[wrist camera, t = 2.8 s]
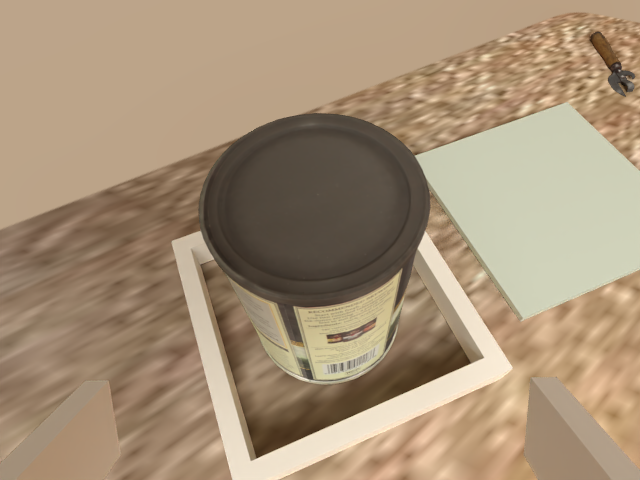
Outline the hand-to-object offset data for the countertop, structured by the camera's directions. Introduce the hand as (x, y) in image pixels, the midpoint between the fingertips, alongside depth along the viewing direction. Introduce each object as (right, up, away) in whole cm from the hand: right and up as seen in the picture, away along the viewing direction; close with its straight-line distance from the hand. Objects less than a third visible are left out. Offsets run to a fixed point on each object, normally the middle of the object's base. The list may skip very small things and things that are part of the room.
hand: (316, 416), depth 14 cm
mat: (+18, +9, +22) cm, 30 cm away
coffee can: (+1, 0, +18) cm, 18 cm away
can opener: (+29, +23, +30) cm, 48 cm away
